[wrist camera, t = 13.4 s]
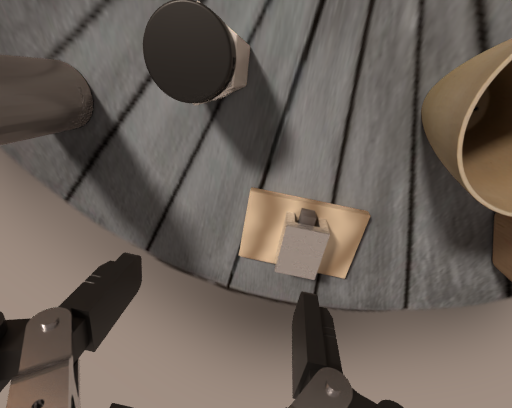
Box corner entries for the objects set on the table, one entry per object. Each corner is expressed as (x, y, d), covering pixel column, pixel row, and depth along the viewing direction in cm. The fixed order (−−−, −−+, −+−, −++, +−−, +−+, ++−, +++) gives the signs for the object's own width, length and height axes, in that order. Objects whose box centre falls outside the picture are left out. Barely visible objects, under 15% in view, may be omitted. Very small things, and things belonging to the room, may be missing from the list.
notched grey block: (276, 253, 44) (274, 271, 40) (286, 211, 40) (286, 225, 36) (312, 261, 44) (314, 280, 40) (325, 219, 40) (330, 234, 36)
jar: (203, 107, 37) (167, 119, 26) (174, 45, 34) (120, 29, 23) (263, 80, 35) (250, 80, 24) (236, 10, 32) (209, -26, 21)
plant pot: (368, 93, 34) (425, 104, 20) (496, 6, 29) (699, -67, 15) (418, 185, 38) (496, 248, 24) (538, 121, 33) (729, 153, 19)
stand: (240, 250, 46) (235, 265, 43) (251, 187, 41) (247, 197, 38) (343, 272, 46) (347, 289, 42) (367, 211, 41) (375, 224, 37)
